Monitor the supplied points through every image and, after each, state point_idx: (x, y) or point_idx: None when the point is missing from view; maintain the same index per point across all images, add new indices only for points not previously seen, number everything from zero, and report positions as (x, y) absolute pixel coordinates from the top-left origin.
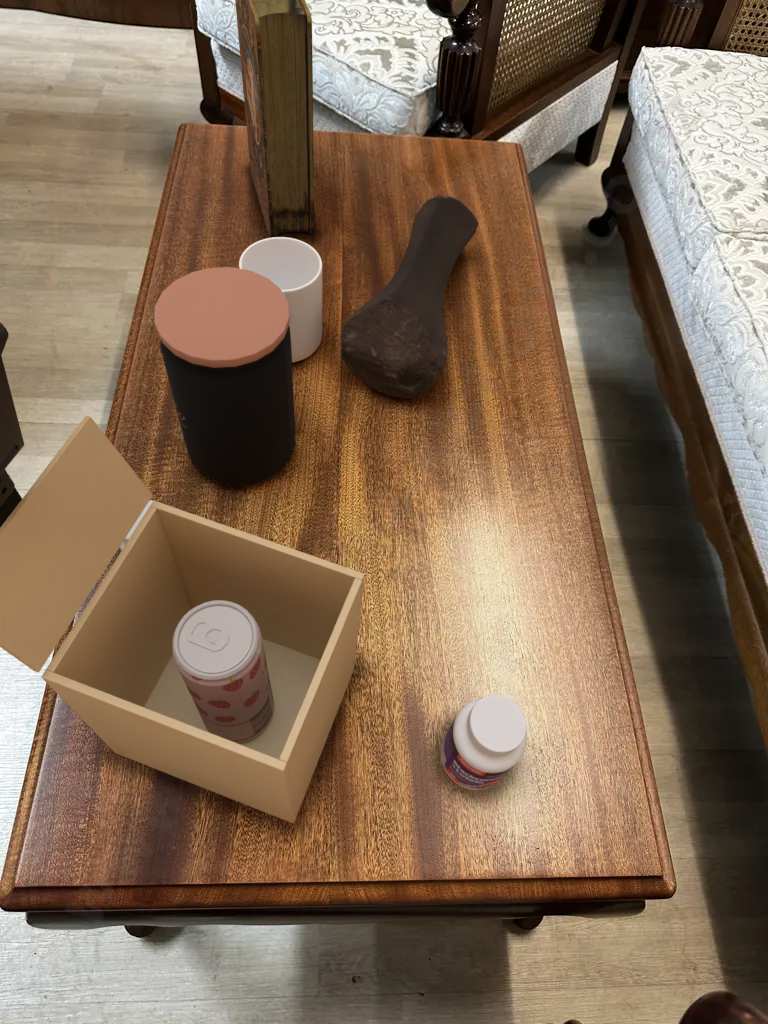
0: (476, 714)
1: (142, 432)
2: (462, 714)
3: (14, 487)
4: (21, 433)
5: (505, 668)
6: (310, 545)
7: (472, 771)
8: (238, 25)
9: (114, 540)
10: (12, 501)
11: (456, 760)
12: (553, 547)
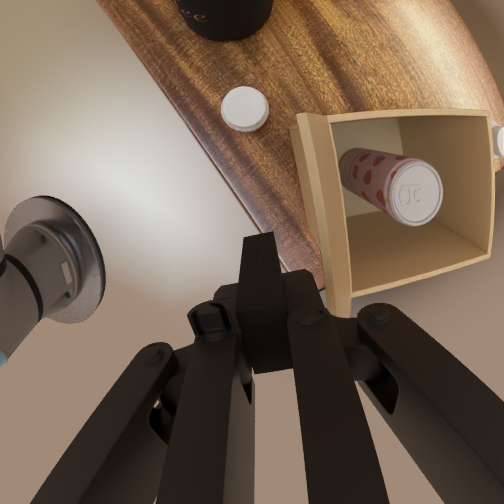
0: (499, 142)
1: (153, 44)
2: None
3: (306, 270)
4: (418, 326)
5: (456, 83)
6: (325, 47)
7: None
8: None
9: (338, 185)
10: (277, 253)
11: None
12: (438, 7)
